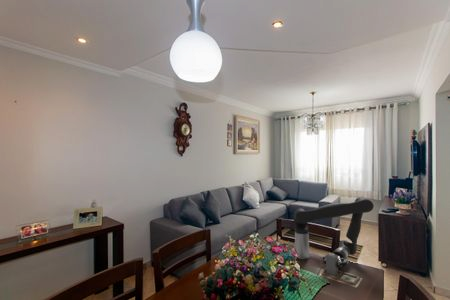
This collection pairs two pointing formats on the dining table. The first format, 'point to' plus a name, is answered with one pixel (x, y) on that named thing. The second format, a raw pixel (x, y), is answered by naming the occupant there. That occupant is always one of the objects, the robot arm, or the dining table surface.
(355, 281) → the dock
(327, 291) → the dining table surface
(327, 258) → the plug
